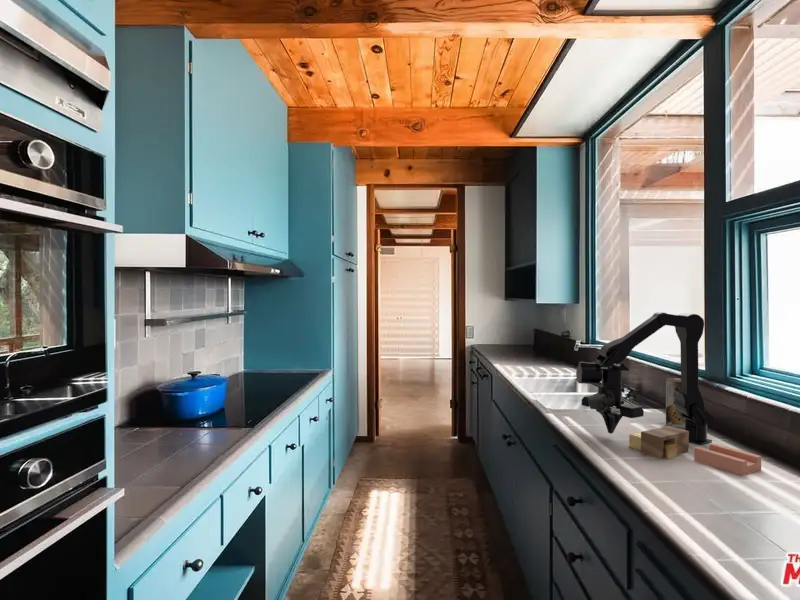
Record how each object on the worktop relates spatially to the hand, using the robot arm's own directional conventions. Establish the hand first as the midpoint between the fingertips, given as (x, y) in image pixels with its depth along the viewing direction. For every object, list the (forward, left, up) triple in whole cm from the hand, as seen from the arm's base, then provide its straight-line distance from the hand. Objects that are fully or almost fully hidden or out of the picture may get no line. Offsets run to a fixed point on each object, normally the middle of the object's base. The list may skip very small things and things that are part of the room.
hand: (610, 433), depth 150 cm
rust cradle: (-8, +30, -2) cm, 31 cm away
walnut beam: (-3, +16, -1) cm, 16 cm away
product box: (-34, +2, -2) cm, 34 cm away
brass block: (0, +14, -2) cm, 14 cm away
